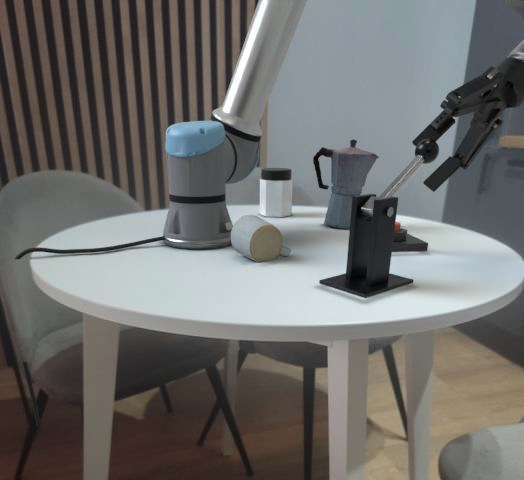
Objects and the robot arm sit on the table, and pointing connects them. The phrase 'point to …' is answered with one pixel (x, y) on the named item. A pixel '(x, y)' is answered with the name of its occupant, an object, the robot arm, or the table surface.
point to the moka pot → (344, 180)
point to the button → (397, 227)
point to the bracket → (369, 250)
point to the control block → (407, 242)
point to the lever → (405, 173)
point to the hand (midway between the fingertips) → (423, 168)
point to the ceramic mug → (257, 239)
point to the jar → (276, 192)
